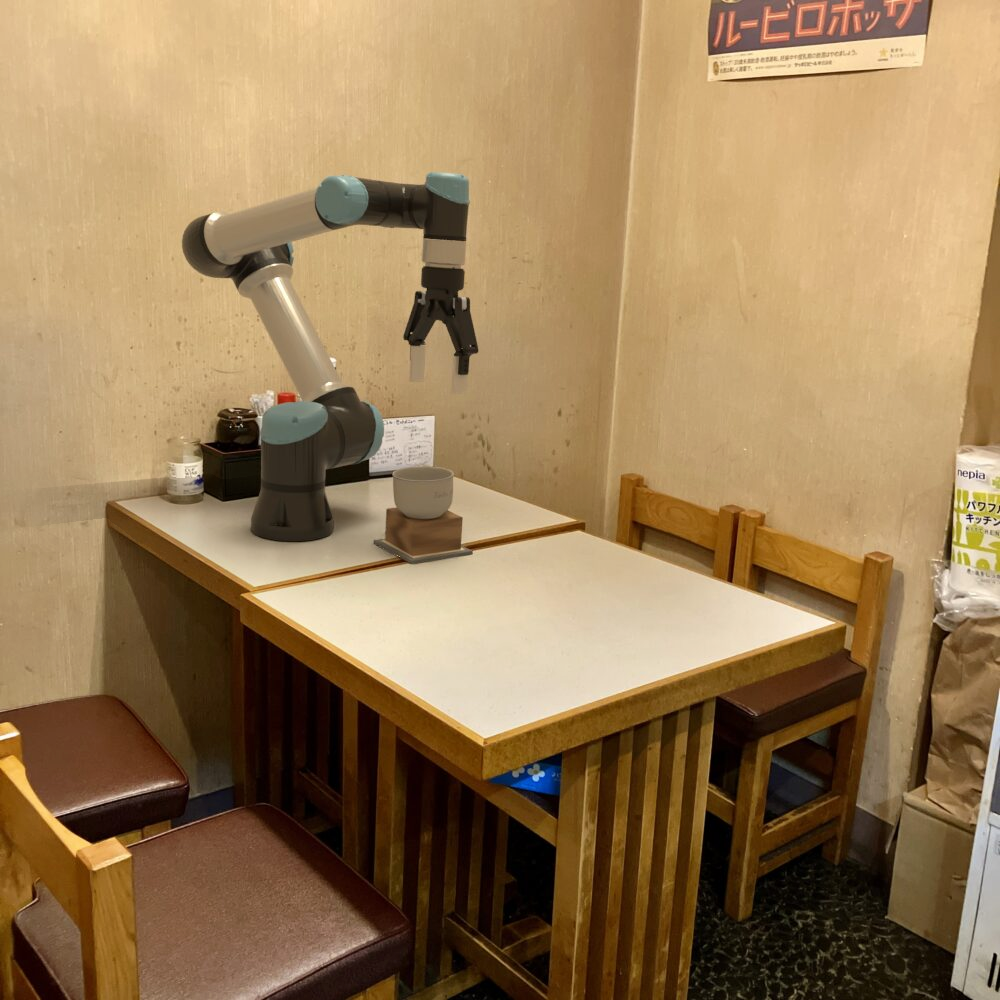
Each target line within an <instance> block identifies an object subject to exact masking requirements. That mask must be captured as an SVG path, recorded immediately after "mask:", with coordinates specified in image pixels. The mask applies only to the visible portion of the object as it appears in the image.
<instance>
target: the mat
mask: <svg viewBox="0 0 1000 1000" xmlns="http://www.w3.org/2000/svg"><path fill="white" fill-rule="evenodd" d="M372 542H373V543H374V545H375V544H376V545H375V546H377V545H378V546H377V547H379V546H380V547H379V548H381V549H383V548H384V549H383V550H385V551H386V550H387V551H386V552H388V551H389V552H388V553H391V554H392V553H393V555H394V554H395V555H394V556H396V555H398V556H400V557H401V558H402V559H401V558H400V559H401V560H403V561H404V562H405V561H406V562H407V563H409V564H411V565H414V564H421V563H426V562H427V563H428V562H432V561H438V560H446V559H449V558H450V559H451V558H457V557H464V556H468V555H473V553H474V552H473V550H471V549H469V548H467V547H466V546H463V545H462V544H461V549H460V550H453V551H446V552H439V553H431V554H424V555H417V556H411V555H410V554H408V553H406V552H404V551H403V550H401V549H399V548H398V547H396V546H394V545H392V544H391V543H389V542H387V541H386V540H385V538H381V539H380V538H379V539H374V540H373V541H372ZM398 556H397V557H398Z"/></svg>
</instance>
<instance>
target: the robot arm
mask: <svg viewBox="0 0 1000 1000" xmlns="http://www.w3.org/2000/svg"><path fill="white" fill-rule="evenodd" d="M469 205H470V180H469V178H468V177H467V176H466V175H464V174H460V173H453V172H443V171H442V172H441V171H440V172H439V171H437V172H436V171H435V172H432V171H431V172H428V173H427V174H426V177H425V182H424V184H413V183H398V182H392V181H386V180H385V181H383V180H376V179H368V178H363V177H355V176H353V175H348V174H343V175H342V174H341V175H329V176H327V177H325V178H323V180H322V181H321V183H320V184H319V185H318V186H317V187H315V188H311V189H308V190H303V191H301V192H298V193H297V192H296V193H294V194H291V195H288V196H284V197H280V198H278V199H274V200H271V201H267V202H265V203H261V204H257V205H255V206H251V207H248V208H245V209H242V210H239V211H235V212H232V213H228V212H225V211H216V212H212V213H209V214H206V215H205V214H204V215H201V216H199V217H197V218H194V219H193V220H192V221H190V223H189V224H188V225H187V226H186V228H185V230H184V232H183V234H182V238H181V250H182V253H183V257H185V260H186V262H187V263H188V264H189V266H190V267H191V268H192V269H193V270H195V271H196V272H198V273H199V274H201V275H203V276H205V277H208V278H215V279H231V280H232V282H233V283H234V286H235V288H236V290H237V291H238V294H239V295H240V297H243V298H247V299H249V300H251V302H252V304H253V306H254V308H255V311H256V313H257V314H258V316H259V318H260V320H261V322H262V324H263V327H264V328H265V331H266V332H267V334H268V336H269V338H270V339H271V342H272V345H273V346H274V347H275V350H276V351H277V354H278V355H279V358H280V360H281V361H282V363H283V365H284V367H285V370H286V372H287V373H288V374H287V375H289V377H290V379H291V382H292V383H293V386H294V387H295V389H296V391H297V393H298V395H299V397H300V399H301V401H299V400H298V401H295V402H292V401H288V402H283V403H279V404H275V405H273V406H270V407H269V408H267V409H266V410H265V411H264V413H263V415H262V418H261V428H260V434H259V435H260V491H259V494H258V496H257V498H256V499H257V500H256V502H255V506H254V508H253V511H252V514H251V517H250V531H251V533H253V534H254V535H255V536H258V537H259V538H260V537H261V538H264V539H267V540H273V541H281V542H306V541H313V540H314V541H315V540H318V539H323V538H325V537H328V536H330V535H331V534H332V533H333V532H334V523H335V521H334V516H333V513H332V509H331V506H330V503H329V499H328V496H327V493H326V470H331V469H335V468H341V467H343V466H344V467H345V466H349V465H357V464H360V463H361V462H364V461H366V460H369V459H371V458H373V457H374V456H375V455H376V454H377V453H378V451H380V449H381V447H382V444H383V438H384V437H385V424H384V419H383V415H381V413H380V411H379V410H378V408H377V407H376V406H375V405H373V404H372V403H369V402H367V401H364V400H363V401H361V399H360V398H359V394H358V393H357V391H356V389H355V388H354V386H352V385H350V384H346V383H344V382H343V381H342V379H341V378H340V375H339V374H338V371H337V369H336V368H335V366H334V363H333V362H332V360H331V357H330V355H329V353H328V352H327V350H326V348H325V346H324V344H323V342H322V340H321V338H320V337H319V333H318V332H317V330H316V329H315V327H314V324H313V323H312V320H311V318H310V317H309V315H308V313H307V311H306V309H305V307H304V305H303V303H302V301H301V299H300V297H299V295H298V293H297V291H296V289H295V287H294V285H293V284H292V281H291V280H292V276H293V274H294V269H293V263H294V259H295V258H294V256H293V254H294V250H295V249H294V245H293V243H294V242H297V241H300V240H304V239H307V238H310V237H314V236H318V235H321V234H324V233H325V234H326V233H329V232H333V231H336V230H341V229H345V228H348V227H353V226H372V227H373V226H375V227H382V228H389V229H394V228H395V229H396V228H397V229H398V228H399V229H400V228H401V229H416V230H417V229H418V230H423V234H422V235H423V237H422V238H423V239H422V249H421V250H422V252H421V262H422V263H424V264H425V265H423V266H422V267H421V274H420V275H421V276H420V277H421V278H420V285H421V287H422V288H423V289H426V291H425V290H423V291H422V290H417V291H415V293H414V299H413V300H414V301H413V304H412V308H411V311H410V315H409V318H408V321H407V323H406V326H405V330H404V332H403V336H402V338H403V340H404V341H407V342H408V345H409V346H410V347H409V348H410V349H409V379H408V381H409V382H410V383H414V382H415V383H417V382H419V383H420V382H425V363H426V342H425V340H426V338H427V337H428V335H429V333H430V332H431V330H432V328H433V327H434V325H435V323H436V321H440V322H441V323H442V324H444V325H445V327H446V330H447V332H448V335H449V337H450V340H451V343H452V345H453V347H454V351H455V352H454V354H453V355H452V356H453V357H452V373H451V374H452V375H451V392H450V393H451V394H456V395H458V394H467V389H468V388H467V386H468V375H469V373H470V372H469V371H470V357H471V356H472V355H475V354H476V355H477V354H478V353H479V346H478V341H477V337H476V332H475V327H474V323H473V318H472V313H471V300H470V297H467V296H466V297H465V296H463V297H462V296H459V291H462V290H464V287H465V269H464V268H462V266H464V265H466V251H467V250H466V247H467V246H466V245H467V230H468V229H467V227H468V218H469V217H468V216H469V208H470V206H469Z"/></svg>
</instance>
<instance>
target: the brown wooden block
mask: <svg viewBox="0 0 1000 1000" xmlns="http://www.w3.org/2000/svg"><path fill="white" fill-rule="evenodd" d="M385 509H386V511H385V535H384V537H385V538H384V539H385V540H386V541H387V542H389V543H391V544H392V545H394V546H396V547H398V548H399V549H401V550H403V551H404V552H406V553H408V554H410V555H411V556H417V555H424V554H431V553H439V552H446V551H453V550H460V549H461V545H462V538H463V537H462V535H463V534H462V533H463V532H462V531H463V516H460V515H459V514H457V513H454V512H452V511H450V510H449V509H448V510H447V511H445V512H444V513H443V514H442V515H441V516H440V517H437V518H433V519H413V518H409V517H407V516H405V515H404V514H403V513H402V512H401V511H400V510H398V508H397V507H388V508H385Z"/></svg>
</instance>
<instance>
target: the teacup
mask: <svg viewBox="0 0 1000 1000" xmlns="http://www.w3.org/2000/svg"><path fill="white" fill-rule="evenodd" d="M391 474H392V475H391V476H392V484H393V487H392V489H393V499H394V500H393V502H394V505H395V508H398V510H400V511H401V512H402V513H403V514H404V515H405V516H407V517H409V518H413V519H433V518H437V517H440V516H441V515H442V514H443V513H444V512H445V511H447V510H448V511H449V509H450V508H451V506H452V503H453V498H454V475H455V472H454V471H452V470H451V469H448V468H445V467H441V466H431V465H430V464H423V465H422V466H420V465H419V466H415V465H414V466H406V467H403V468H402V467H401V468H399V469H396V470H394V471H393V472H392V473H391Z"/></svg>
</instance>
